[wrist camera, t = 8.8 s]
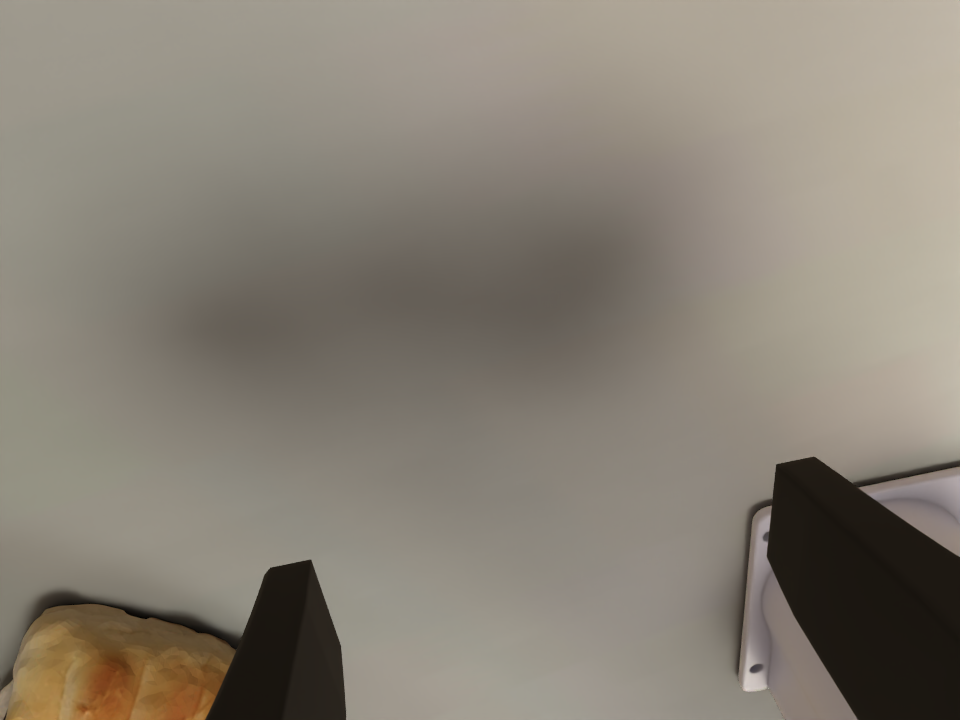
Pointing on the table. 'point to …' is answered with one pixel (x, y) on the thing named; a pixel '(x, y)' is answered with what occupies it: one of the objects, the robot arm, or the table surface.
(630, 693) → the table surface
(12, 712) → the pastry
